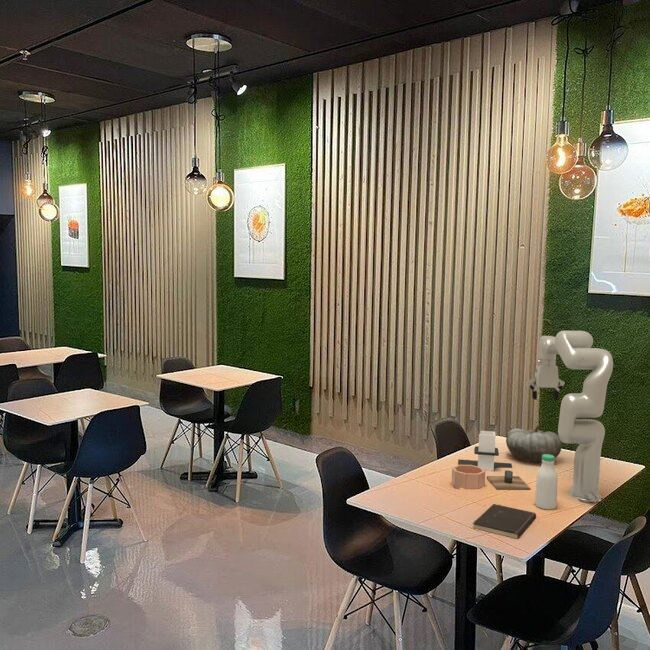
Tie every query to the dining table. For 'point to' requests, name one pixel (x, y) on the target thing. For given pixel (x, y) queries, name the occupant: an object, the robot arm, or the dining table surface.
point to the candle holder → (486, 453)
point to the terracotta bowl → (468, 477)
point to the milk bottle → (546, 484)
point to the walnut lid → (508, 482)
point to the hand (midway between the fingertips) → (545, 399)
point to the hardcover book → (505, 521)
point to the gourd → (533, 444)
